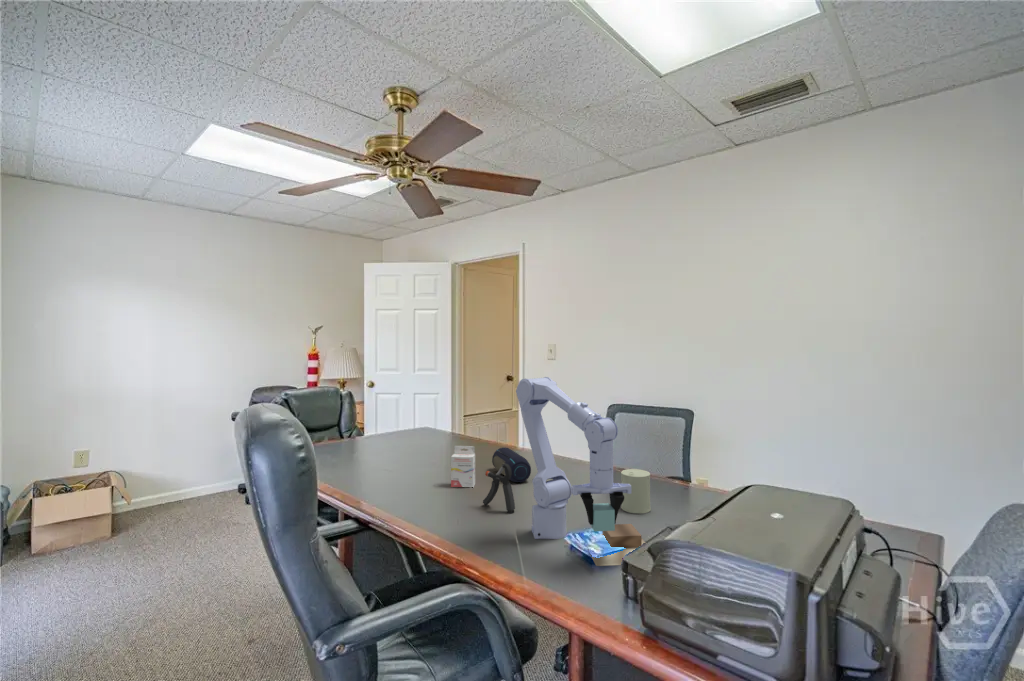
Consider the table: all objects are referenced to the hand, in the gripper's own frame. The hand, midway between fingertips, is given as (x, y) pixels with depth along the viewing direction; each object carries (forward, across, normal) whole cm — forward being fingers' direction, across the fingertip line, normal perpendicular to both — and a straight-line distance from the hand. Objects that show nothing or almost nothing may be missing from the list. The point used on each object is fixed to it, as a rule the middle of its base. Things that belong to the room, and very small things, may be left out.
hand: (601, 522), depth 119 cm
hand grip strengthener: (+9, -24, +38) cm, 46 cm away
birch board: (+9, +5, +3) cm, 10 cm away
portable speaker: (+9, -17, +76) cm, 78 cm away
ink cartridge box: (+9, -36, +64) cm, 74 cm away
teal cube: (+1, 0, 0) cm, 1 cm away
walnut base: (+9, +7, +7) cm, 13 cm away
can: (+9, +20, +34) cm, 40 cm away
